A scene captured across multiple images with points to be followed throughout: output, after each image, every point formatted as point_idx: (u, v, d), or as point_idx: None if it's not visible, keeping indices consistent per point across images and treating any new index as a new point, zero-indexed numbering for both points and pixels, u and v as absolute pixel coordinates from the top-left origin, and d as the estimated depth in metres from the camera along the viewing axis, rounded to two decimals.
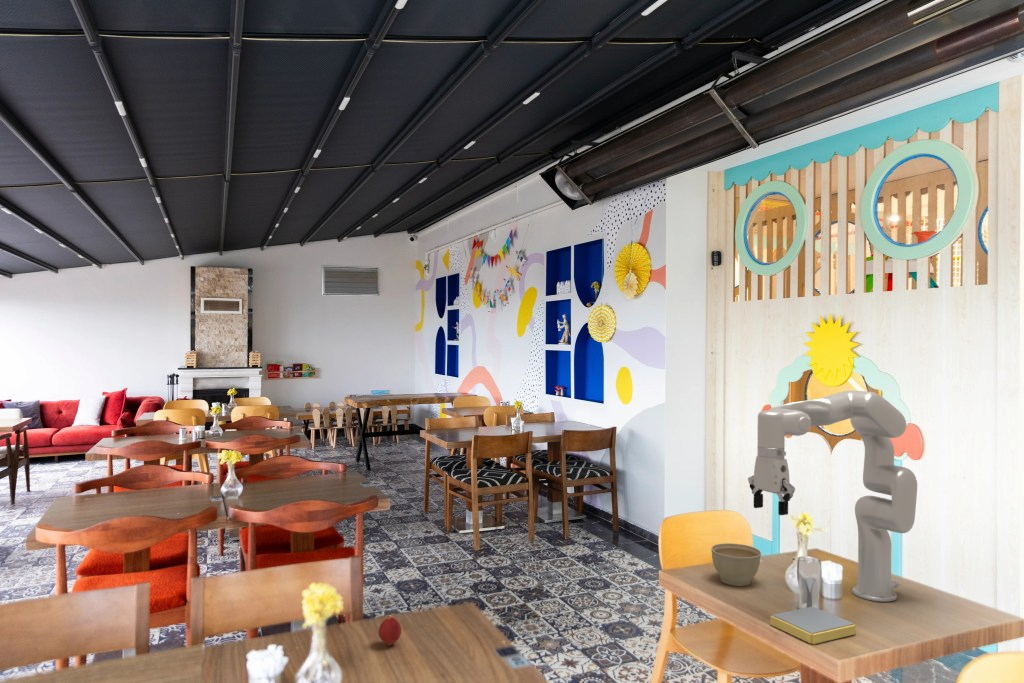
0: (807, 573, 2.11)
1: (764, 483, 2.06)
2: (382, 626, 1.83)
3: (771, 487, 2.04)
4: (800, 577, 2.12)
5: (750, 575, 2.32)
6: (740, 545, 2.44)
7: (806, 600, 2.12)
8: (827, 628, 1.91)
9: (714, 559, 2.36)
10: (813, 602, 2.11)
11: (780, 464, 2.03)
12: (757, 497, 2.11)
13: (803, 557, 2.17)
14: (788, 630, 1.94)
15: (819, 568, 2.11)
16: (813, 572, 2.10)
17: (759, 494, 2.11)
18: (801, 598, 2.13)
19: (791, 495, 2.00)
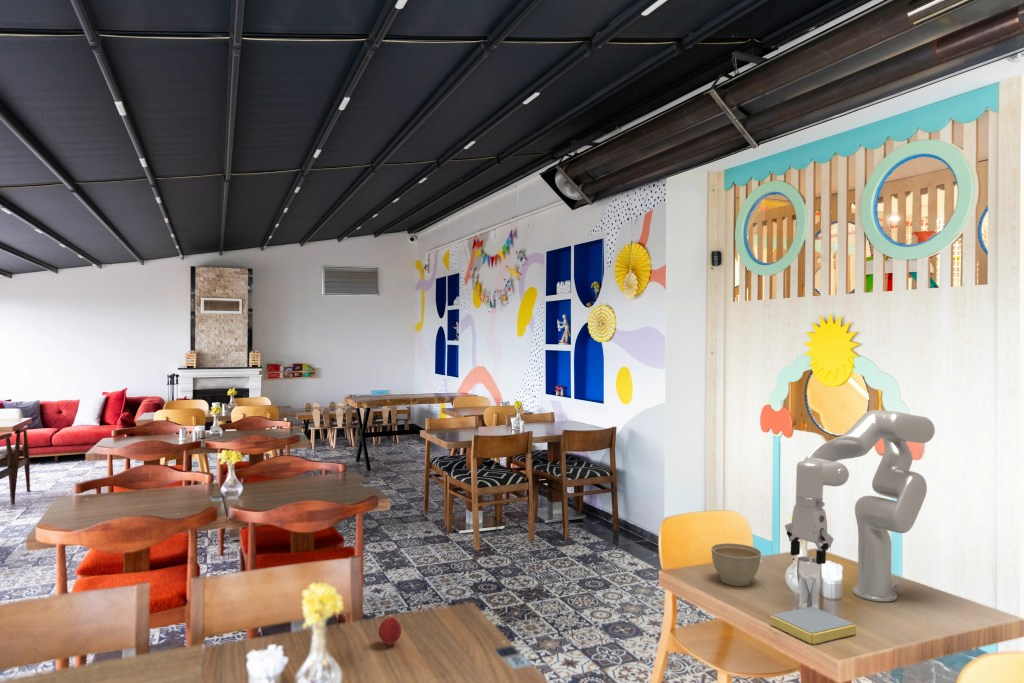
0: (807, 573, 2.11)
1: (802, 532, 2.12)
2: (382, 626, 1.83)
3: (809, 536, 2.10)
4: (800, 577, 2.12)
5: (750, 575, 2.32)
6: (740, 545, 2.44)
7: (806, 600, 2.12)
8: (827, 628, 1.91)
9: (714, 559, 2.36)
10: (813, 602, 2.11)
11: (819, 514, 2.09)
12: (794, 544, 2.17)
13: (803, 557, 2.17)
14: (788, 630, 1.94)
15: (819, 568, 2.11)
16: (813, 572, 2.10)
17: (796, 542, 2.18)
18: (801, 598, 2.13)
19: (829, 545, 2.07)
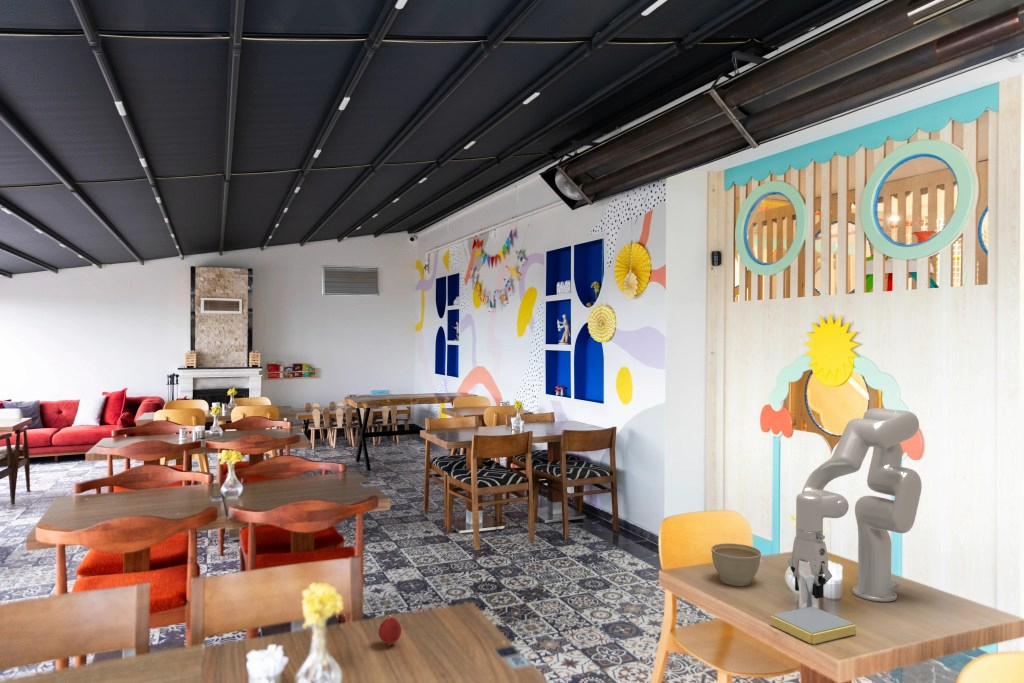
0: (807, 573, 2.11)
1: None
2: (382, 626, 1.83)
3: None
4: (800, 577, 2.12)
5: (750, 575, 2.32)
6: (740, 545, 2.44)
7: (806, 600, 2.12)
8: (827, 628, 1.91)
9: (714, 559, 2.36)
10: (813, 602, 2.11)
11: (819, 547, 2.09)
12: None
13: None
14: (788, 630, 1.94)
15: None
16: None
17: None
18: (801, 598, 2.13)
19: (827, 580, 2.08)
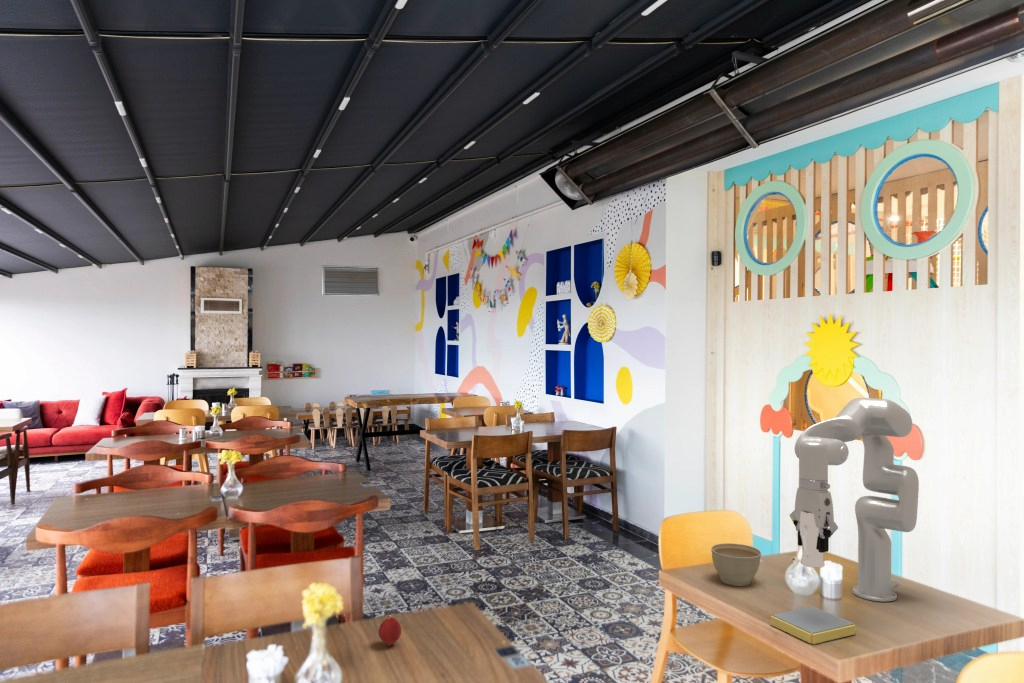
0: (811, 525, 1.95)
1: None
2: (382, 626, 1.83)
3: None
4: (803, 530, 1.96)
5: (750, 575, 2.32)
6: (740, 545, 2.44)
7: (810, 554, 1.96)
8: (827, 628, 1.91)
9: (714, 559, 2.36)
10: (817, 556, 1.95)
11: (824, 497, 1.93)
12: None
13: None
14: (788, 630, 1.94)
15: None
16: None
17: None
18: (804, 553, 1.97)
19: (832, 532, 1.92)
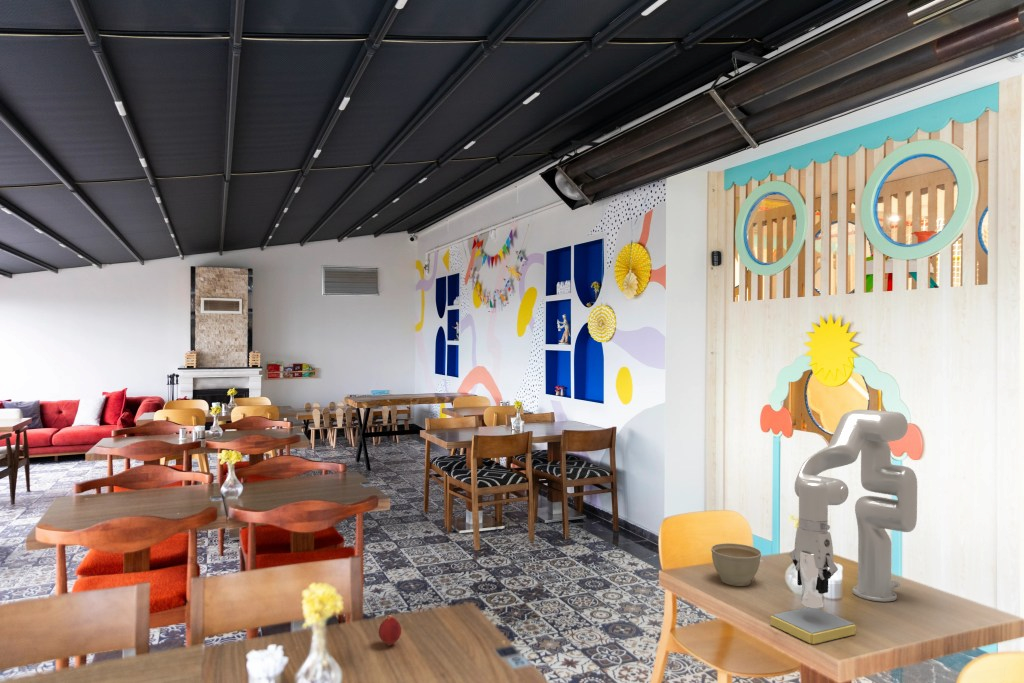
0: (810, 566, 1.95)
1: None
2: (382, 626, 1.83)
3: None
4: (803, 570, 1.96)
5: (750, 575, 2.32)
6: (740, 545, 2.44)
7: (809, 595, 1.96)
8: (827, 628, 1.91)
9: (714, 559, 2.36)
10: (817, 597, 1.95)
11: (824, 538, 1.93)
12: None
13: None
14: (788, 630, 1.94)
15: None
16: None
17: None
18: (804, 593, 1.97)
19: (832, 574, 1.92)
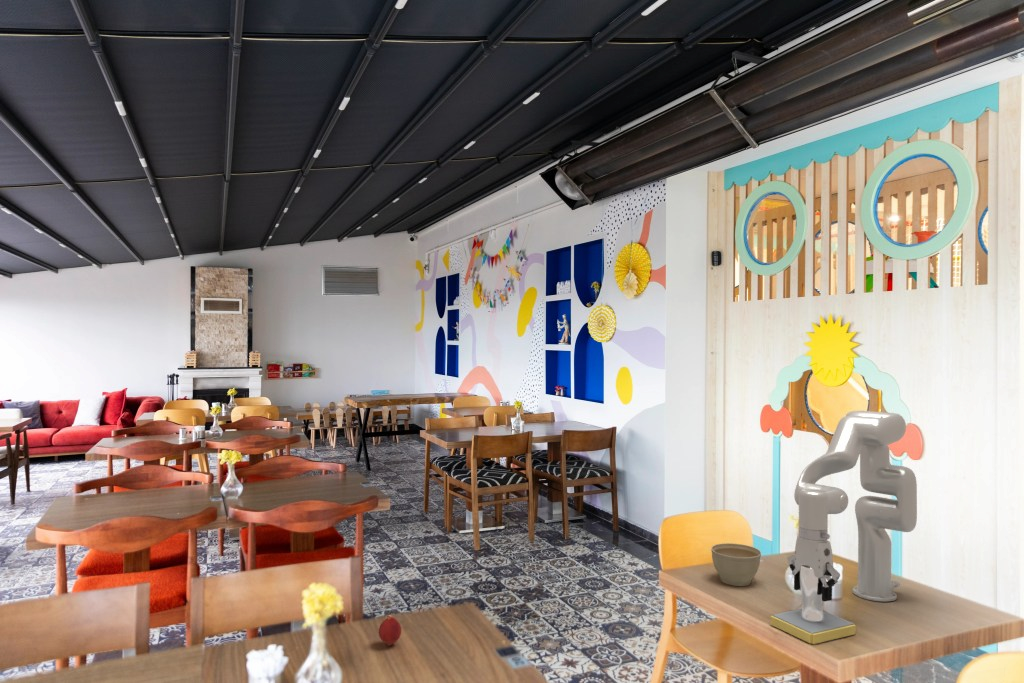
0: (811, 580, 1.95)
1: (806, 566, 1.97)
2: (382, 626, 1.83)
3: (814, 571, 1.94)
4: (803, 584, 1.96)
5: (750, 575, 2.32)
6: (740, 545, 2.44)
7: (810, 609, 1.96)
8: (827, 628, 1.91)
9: (714, 559, 2.36)
10: (817, 612, 1.95)
11: (823, 547, 1.93)
12: (798, 579, 2.01)
13: None
14: (788, 630, 1.94)
15: None
16: (817, 579, 1.94)
17: None
18: (804, 607, 1.97)
19: (836, 581, 1.91)
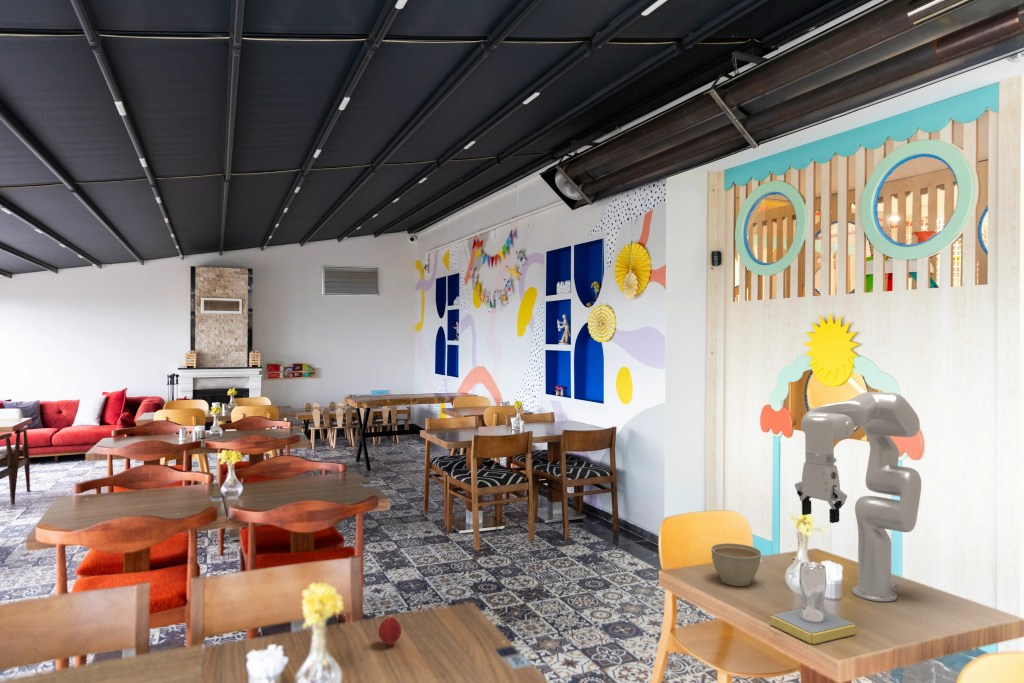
0: (811, 580, 1.95)
1: (814, 490, 2.02)
2: (382, 626, 1.83)
3: (821, 495, 1.99)
4: (803, 584, 1.96)
5: (750, 575, 2.32)
6: (740, 545, 2.44)
7: (810, 609, 1.96)
8: (827, 628, 1.91)
9: (714, 559, 2.36)
10: (817, 612, 1.95)
11: (830, 471, 1.98)
12: (805, 504, 2.06)
13: (806, 563, 2.01)
14: (788, 630, 1.94)
15: (823, 575, 1.95)
16: (817, 579, 1.94)
17: (807, 501, 2.07)
18: (804, 607, 1.97)
19: (843, 502, 1.96)
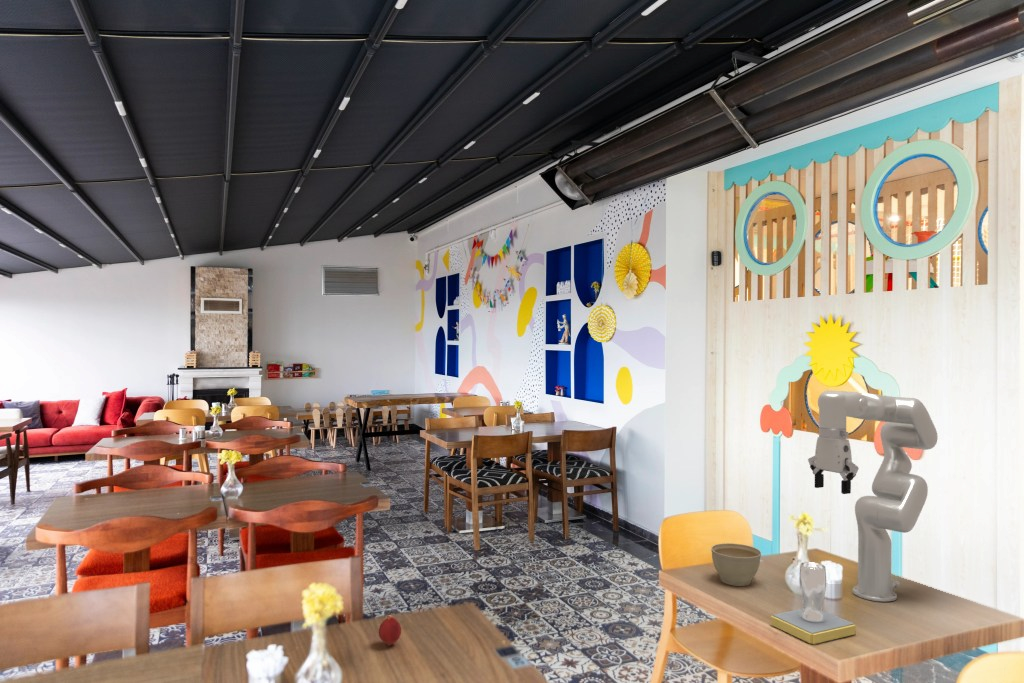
0: (811, 580, 1.95)
1: (827, 463, 2.11)
2: (382, 626, 1.83)
3: (834, 467, 2.09)
4: (803, 584, 1.96)
5: (750, 575, 2.32)
6: (740, 545, 2.44)
7: (810, 609, 1.96)
8: (827, 628, 1.91)
9: (714, 559, 2.36)
10: (817, 612, 1.95)
11: (843, 444, 2.08)
12: (818, 477, 2.16)
13: (806, 563, 2.01)
14: (788, 630, 1.94)
15: (823, 575, 1.95)
16: (817, 579, 1.94)
17: (820, 474, 2.17)
18: (804, 607, 1.97)
19: (854, 474, 2.05)
